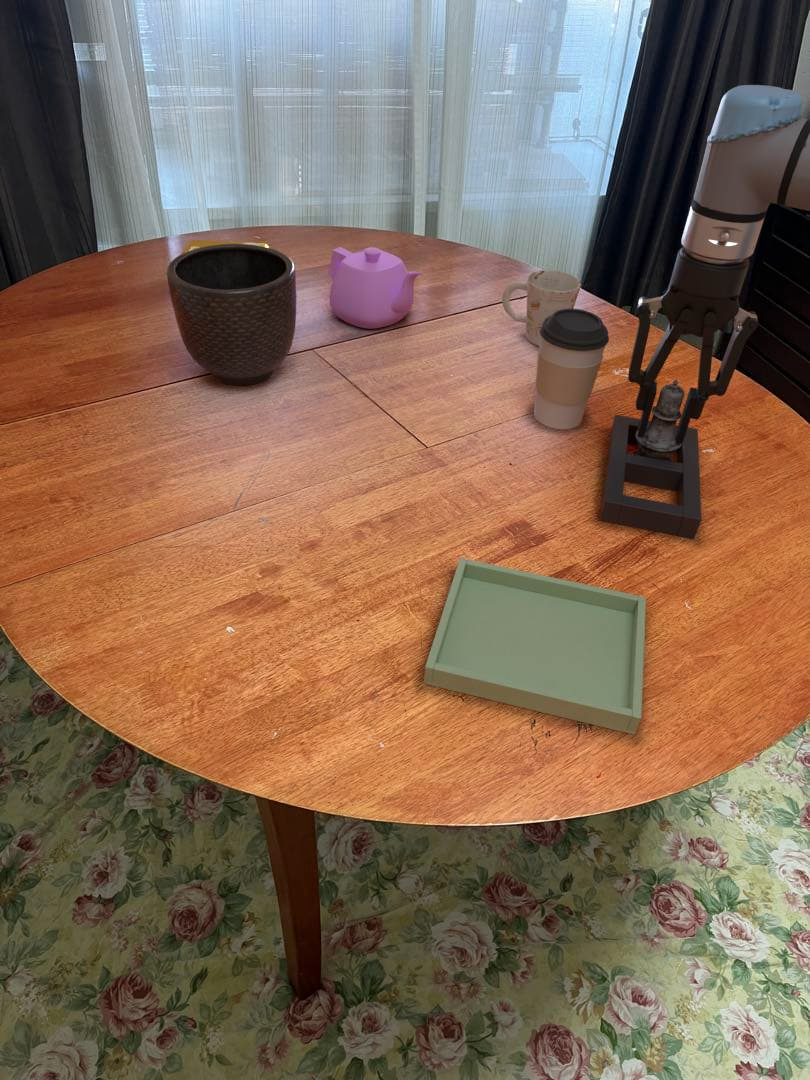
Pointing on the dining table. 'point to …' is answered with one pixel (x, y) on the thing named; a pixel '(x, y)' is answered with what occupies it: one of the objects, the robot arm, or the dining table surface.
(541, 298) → the mug
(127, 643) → the dining table surface
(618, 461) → the rack
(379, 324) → the teapot
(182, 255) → the planter
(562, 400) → the coffee cup
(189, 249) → the element tile
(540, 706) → the tray
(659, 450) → the dark grey chess piece
